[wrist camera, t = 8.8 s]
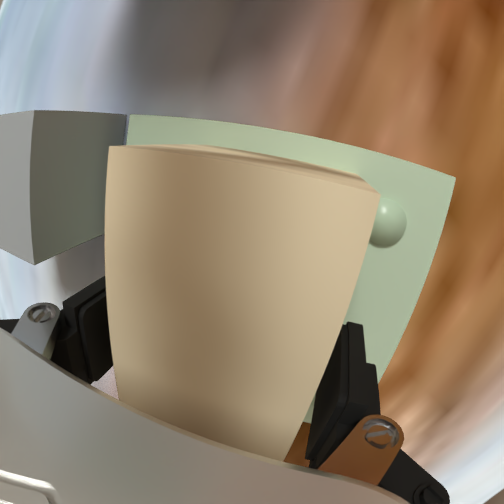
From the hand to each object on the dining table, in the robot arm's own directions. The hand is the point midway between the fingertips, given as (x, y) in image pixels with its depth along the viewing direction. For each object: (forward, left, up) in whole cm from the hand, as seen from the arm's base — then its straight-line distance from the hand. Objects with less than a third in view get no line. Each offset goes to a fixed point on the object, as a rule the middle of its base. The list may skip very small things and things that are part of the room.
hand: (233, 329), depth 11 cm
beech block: (0, 0, -3) cm, 3 cm away
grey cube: (+11, -4, -4) cm, 12 cm away
